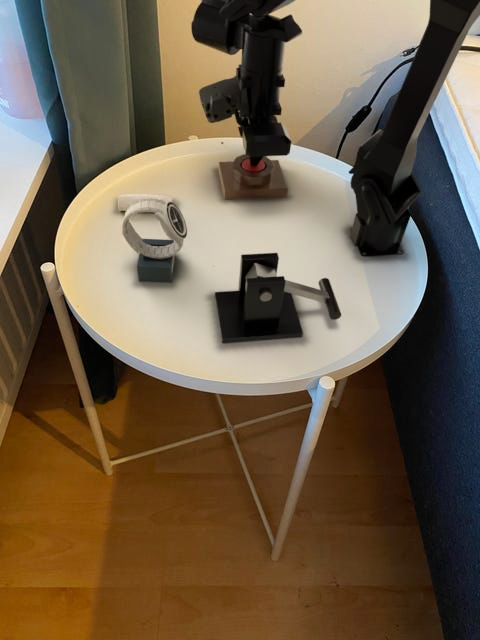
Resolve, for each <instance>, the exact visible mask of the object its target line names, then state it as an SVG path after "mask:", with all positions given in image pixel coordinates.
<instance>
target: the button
mask: <svg viewBox="0 0 480 640" xmlns="http://www.w3.org/2000/svg"><path fill="white" fill-rule="evenodd" d="M242 169H244V170H245V171H248V172H251V173H258V172H261V171H264V169H265V164H264V162H263V161H260V162H259V164H258V165H257V166H251V164H250V160H249V159H246V160H244V161H243V163H242Z"/></svg>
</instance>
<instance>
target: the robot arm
mask: <svg viewBox="0 0 480 640" xmlns="http://www.w3.org/2000/svg"><path fill="white" fill-rule="evenodd" d="M295 1H296V0H201V1H200V3H199V4H198V6H197V8H196V9H195V11H194V14H193V19H192V21H191V24H190V26H191V27H190V29H191V35H192V38H193V39H194V41H195V42H196V43H198V44H200V45H202V46H206V47H208V48H211V49H212V50H213V49H214V50H216V51H218V52H221V53H224V54H226V55H229V56H234V55H236V54H238V52H240V51H241V61H240V62H241V63H240V64H238V67H236V68H235V69H236V70H235V75H234V76H233V77H230V78H225V79H222V80H219V81H216V82H213V83H210V84H207V85H206V86H203V87H201V88H200V89H199V90H198V95H199V101H200V104H201V107H202V110H203V112H204V114H205V117H206V120H207V122H208V123H209V124H214V123H220V122H222V121H225V120H228V119H231V118H232V117H233V115H234V118H235V120H236V123H237V125H238V126H237V129H238V132H239V133H238V134H239V137H240V138H241V139H242V146H243V150H244V154H246V155H248V156H249V160H250V164H251V166H257V165H258V164H259V162H260V161H261V159H262V158H263V156H265V157H282V156H284V157H285V156H288V155H289V154H290V153H291V148H292V147H291V146H292V139H291V137H290V134H289V131H288V129H287V127H286V126H285V125H284V124H283V123H282V122H279V120H278V117H277V116H282V110H283V109H282V105H281V103H280V97H281V96H280V94H281V88H285V85H286V79H285V76H284V74H283V70H284V62H285V61H284V60H285V52H286V45H287V44H286V43H289V42H290V41H293V40H294V39H296V38H298V37H300V36H302V35H303V29H302V28H301V26H300V25H299V24H298V23H297V22H296V21H295V19H294V17H293V15H292V14H288V15H286V16H284V17H282V18H281V17H277V16H275V15H271V14H272V13H274V12H276V11H278V10H280V9H282V8H285V7H287V6H289V5H291V4H293V3H294V2H295ZM428 17H429V18H428V22H427V25H426V28H425V30H424V33H423V35H422V37H421V39H420V41H419V45H418V47H417V49H416V52H415V54H414V56H413V58H412V61H411V64H410V66H409V69H408V70H407V73H406V75H405V78H404V80H403V83H402V84H401V88H400V89H399V91H398V94H397V97H396V99H395V102H394V103H393V107H392V108H391V111H390V113H389V116H388V118H387V121H386V123H385V125H384V127H383V130H382V129H379V130H378V131H376V132H375V133H374V134H373V135H371V137H369V138H368V139H367V140H366V141H365V142H363V143H362V144H361V145H360V146H359V147H358V150H357V152H356V157H355V162H354V164H353V167H352V168H351V169H350V170H349V171H348V174H350V175H352V176H351V179H350V188H351V189H352V190H353V193H354V195H355V202H356V203H355V205H356V211H357V212H356V214H355V215H354V219H353V224H352V226H350V228H349V231H350V238H351V240H352V242H353V245H354V247H355V248H357V249H358V252H359V254H360V256H361V257H381V256H382V257H383V256H384V257H385V256H399V255H404V253H405V250H404V249H403V246H402V245H401V244H402V243H403V242H402V241H403V239H404V236H405V233H406V230H407V228H408V225H409V222H410V220H411V218H412V217H411V216H412V213H411V211H410V210H409V208H410V207H411V206H412V205H413V203H415V202H416V200H417V199H418V198H419V197H420V196H421V195H422V194H423V191H422V189H421V187H420V185H419V183H418V181H417V179H416V177H415V175H414V173H413V168H414V165H415V162H416V157H417V144H418V143H417V141H418V138H419V135H420V133H421V131H422V129H423V127H424V125H425V123H426V121H427V119H428V116H429V114H430V113H431V110H432V108H433V106H434V104H435V102H436V100H437V98H438V96H439V93H440V92H441V89H442V88H443V86H444V84H445V82H446V80H447V77H448V75H449V73H450V70H451V69H452V67H453V64H454V63H455V60H456V58H457V56H458V54H459V52H460V50H461V48H462V46H463V44H464V42H465V39H466V38H467V36H468V33H469V31H470V30H471V28H472V26H473V24H475V22H476V21H477V20H478V19H479V17H480V0H429V16H428Z"/></svg>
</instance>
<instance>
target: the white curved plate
mask: <svg viewBox="0 0 480 640" xmlns="http://www.w3.org/2000/svg"><path fill="white" fill-rule="evenodd" d="M147 198H152V199H162V200H165V201H166V202H169V201H170V202H173V198H172V197H170V196H167V195H161V194H149V193H124V194H120V195H118V196H117V207H118V212H126V210H127V209H128V207H129V206H130V205H132V204H133V203H134V202H136V201H138V200H141V199H147ZM149 213H152V212H151V211H150V212H149Z"/></svg>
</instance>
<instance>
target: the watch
mask: <svg viewBox="0 0 480 640" xmlns="http://www.w3.org/2000/svg"><path fill="white" fill-rule="evenodd" d="M150 211H151V212H150ZM140 213H154V216H155V218H156V219H157V220H158V221H159V223H160V226H161V228H162V230H163V232H164V233H165V235H166V236H167V238H168V239H161V238H142V237H141V236H140V234H138V232H137V231H136V229H135V228H134V227H133V224H132V222H130V218H131V217H133V216H134V215H137V214H140ZM121 229H122V230H121V234H122V235H123V238H124V239H125V241H126V242H127V244H128V245H129V247H131V248H132V250H133V251H134V252H136V253H137V254H138V260H137V264H136V269H137V271H136V272H137V278H138V282H142V283H143V282H144V283H145V282H147V283H165V284H166V283H169V284H172V281H173V276H174V275H173V274H174V267H175V266H174V265H175V257H176V254H177V253H179V252H180V251H181V249H182V247H183V246H184V240H185V239H186V238H187V236H188V227H187V223H186V220H185V217H184V215H183V212H182V211H181V210H180V208H179V207H178V206H177V205H176V203H174V202H173V201H172V202H170V201H169V202H166V201H165V200H162V199H152V198H147V199H141V200H138V201H136V202H134V203H133V204H132V205H130V206H129V207H128V209H127V210H126V211H125V212H124V217H123V221H122V228H121Z"/></svg>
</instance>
